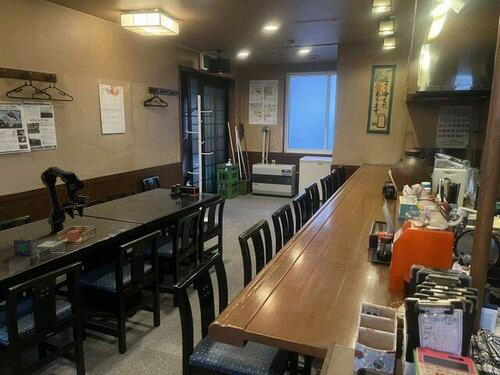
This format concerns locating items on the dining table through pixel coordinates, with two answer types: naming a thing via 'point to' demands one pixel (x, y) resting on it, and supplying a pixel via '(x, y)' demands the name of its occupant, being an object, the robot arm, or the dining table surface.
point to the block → (73, 235)
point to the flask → (23, 247)
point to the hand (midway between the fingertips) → (77, 217)
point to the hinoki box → (84, 233)
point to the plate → (50, 244)
